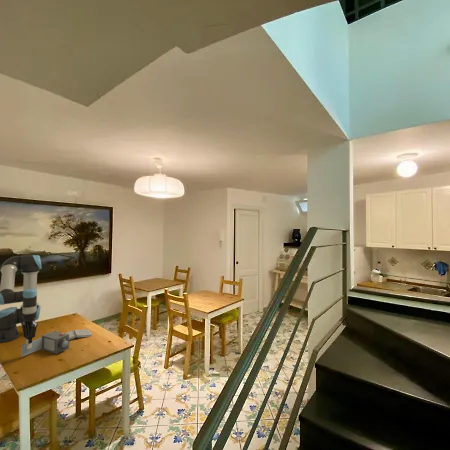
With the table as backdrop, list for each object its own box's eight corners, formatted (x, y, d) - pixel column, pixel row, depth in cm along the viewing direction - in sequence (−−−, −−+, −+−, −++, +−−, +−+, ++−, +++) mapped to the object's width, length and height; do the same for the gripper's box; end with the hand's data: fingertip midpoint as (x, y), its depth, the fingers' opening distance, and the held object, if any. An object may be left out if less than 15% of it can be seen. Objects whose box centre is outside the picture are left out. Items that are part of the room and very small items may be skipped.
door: (41, 347, 176) (41, 337, 176) (43, 348, 175) (43, 337, 176) (20, 356, 164) (20, 344, 164) (21, 356, 163) (22, 345, 163)
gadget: (58, 344, 186) (58, 339, 186) (56, 337, 198) (56, 333, 198) (92, 336, 200) (92, 332, 200) (89, 330, 211) (89, 326, 212)
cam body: (41, 349, 176) (41, 334, 176) (54, 344, 184) (55, 329, 185) (58, 355, 168) (58, 338, 169) (71, 349, 177) (71, 333, 177)
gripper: (17, 313, 166) (16, 349, 165) (30, 315, 162) (29, 352, 161) (29, 310, 173) (28, 344, 172) (42, 311, 169) (41, 347, 168)
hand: (28, 348), depth 167 cm, fingers closed
